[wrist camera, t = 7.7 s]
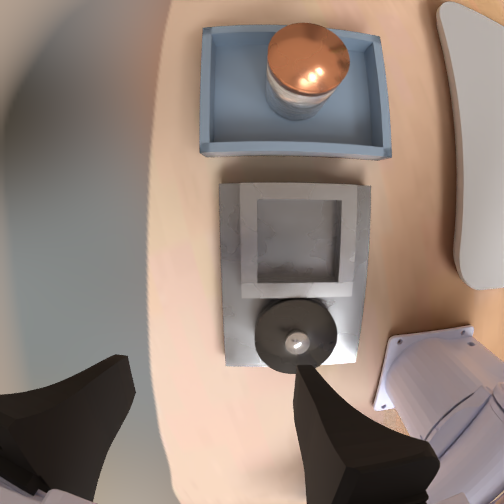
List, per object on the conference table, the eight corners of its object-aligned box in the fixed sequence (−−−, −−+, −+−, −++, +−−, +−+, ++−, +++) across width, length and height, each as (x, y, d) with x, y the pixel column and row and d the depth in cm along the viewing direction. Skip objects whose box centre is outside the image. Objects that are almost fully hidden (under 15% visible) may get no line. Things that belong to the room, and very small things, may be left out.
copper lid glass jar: (322, 70, 18) (345, 27, 11) (325, 122, 19) (353, 94, 12) (265, 68, 18) (266, 21, 11) (265, 120, 19) (268, 88, 12)
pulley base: (365, 186, 20) (383, 185, 17) (351, 354, 22) (363, 376, 19) (221, 184, 20) (214, 183, 17) (227, 357, 23) (222, 382, 20)
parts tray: (368, 49, 18) (379, 36, 15) (377, 160, 19) (391, 157, 17) (208, 43, 18) (202, 27, 15) (206, 157, 20) (199, 152, 17)
